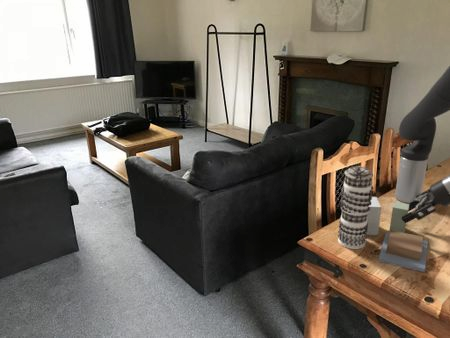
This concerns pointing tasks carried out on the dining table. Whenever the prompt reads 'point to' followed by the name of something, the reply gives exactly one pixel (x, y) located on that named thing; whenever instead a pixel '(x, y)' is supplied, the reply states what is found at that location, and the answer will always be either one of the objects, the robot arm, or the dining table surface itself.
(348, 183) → the decorative candle
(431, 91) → the robot arm
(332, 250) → the dining table surface
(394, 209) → the sage block
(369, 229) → the small box
